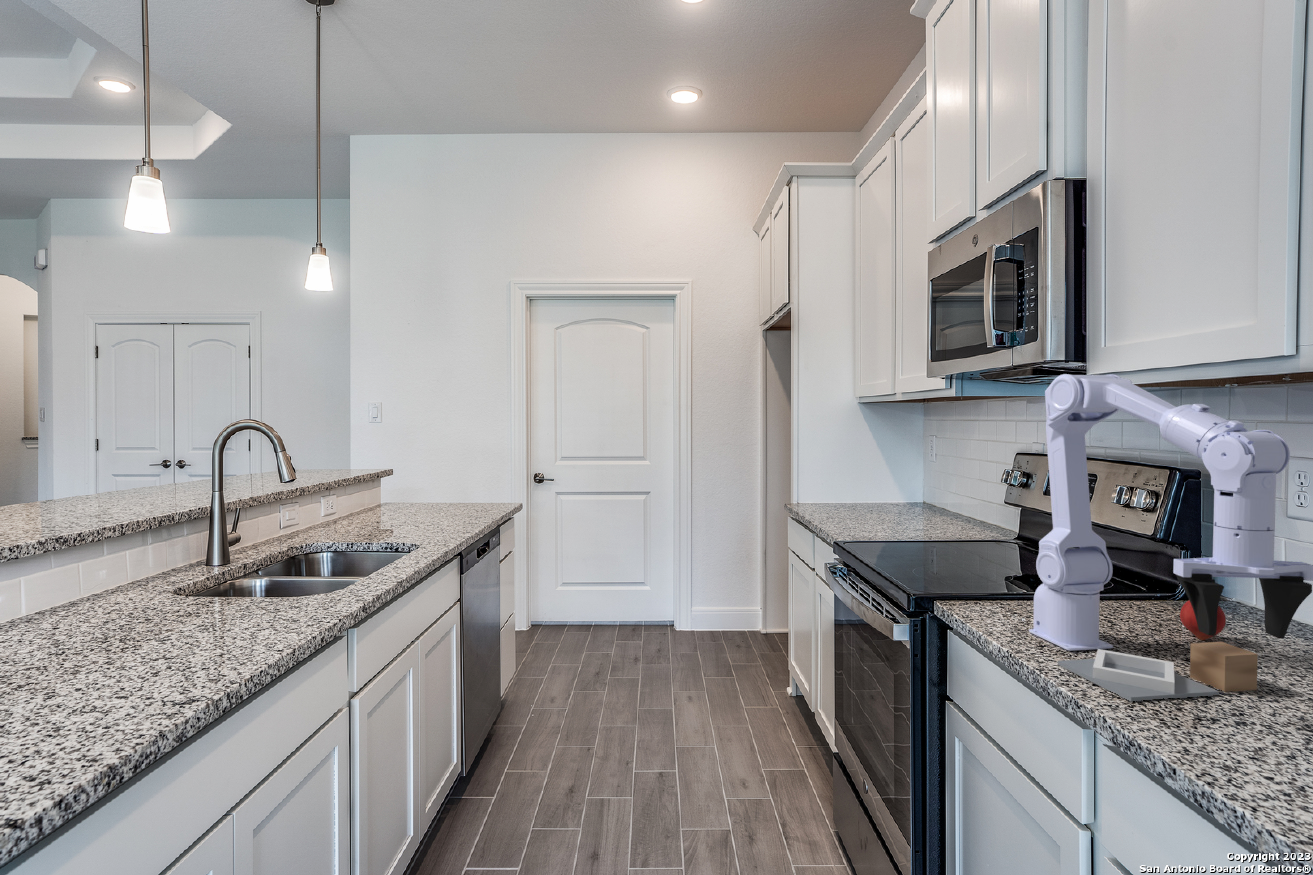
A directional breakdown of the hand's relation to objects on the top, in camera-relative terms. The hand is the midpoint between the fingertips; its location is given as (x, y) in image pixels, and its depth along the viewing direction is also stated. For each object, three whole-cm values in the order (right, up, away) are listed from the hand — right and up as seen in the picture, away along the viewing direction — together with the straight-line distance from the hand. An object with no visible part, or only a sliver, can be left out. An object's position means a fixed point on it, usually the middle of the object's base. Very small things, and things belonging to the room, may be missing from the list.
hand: (1240, 634), depth 82 cm
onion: (+17, -9, +27) cm, 33 cm away
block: (+5, -10, +9) cm, 14 cm away
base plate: (-6, -10, +11) cm, 15 cm away
